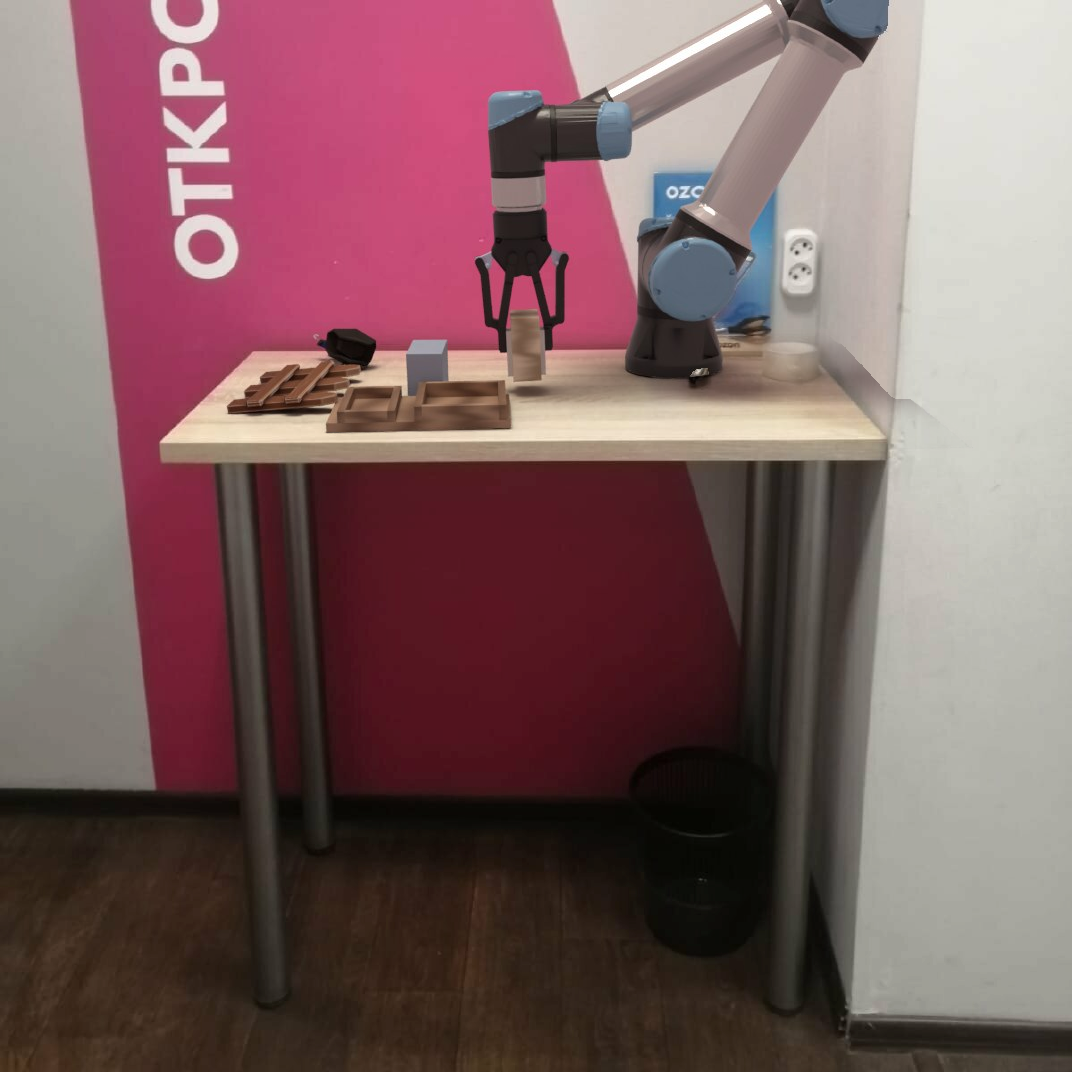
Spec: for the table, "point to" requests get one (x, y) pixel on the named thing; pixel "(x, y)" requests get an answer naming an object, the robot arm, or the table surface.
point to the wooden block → (526, 345)
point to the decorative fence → (295, 388)
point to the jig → (422, 407)
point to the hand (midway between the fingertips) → (526, 373)
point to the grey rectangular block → (426, 363)
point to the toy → (349, 346)
